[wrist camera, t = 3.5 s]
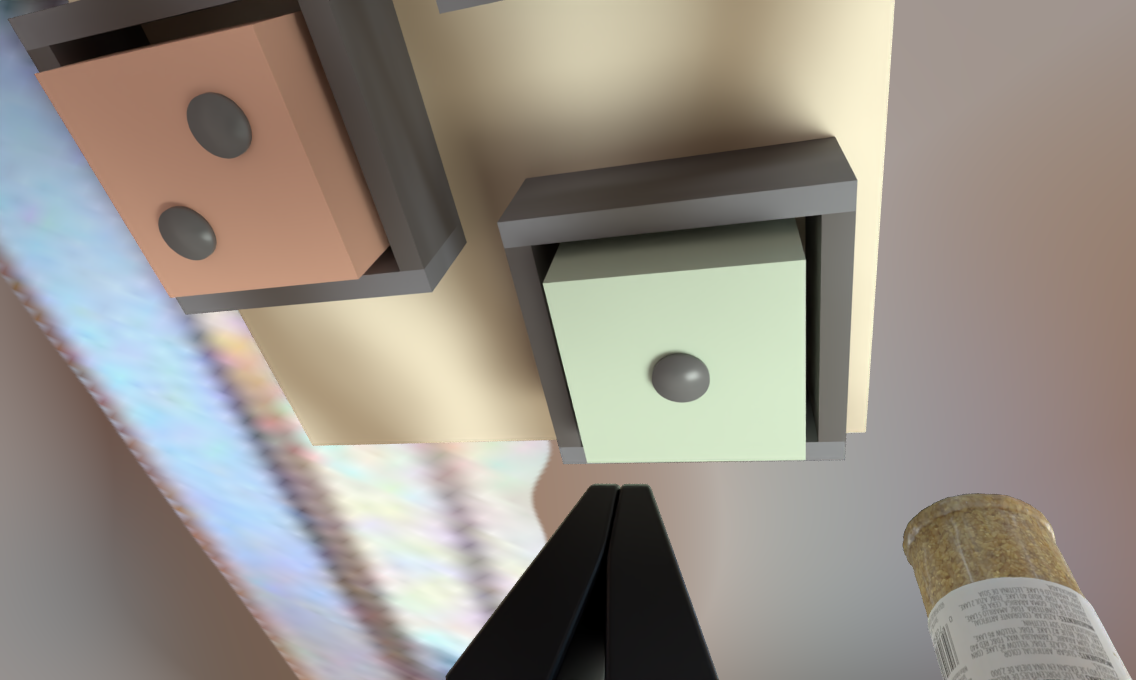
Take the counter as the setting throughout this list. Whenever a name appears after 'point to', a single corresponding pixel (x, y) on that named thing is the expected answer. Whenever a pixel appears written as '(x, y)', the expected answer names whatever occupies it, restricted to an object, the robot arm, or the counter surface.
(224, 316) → the counter surface
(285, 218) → the terracotta tile
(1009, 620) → the sprinkles bottle
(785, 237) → the sage tile
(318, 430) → the button board
